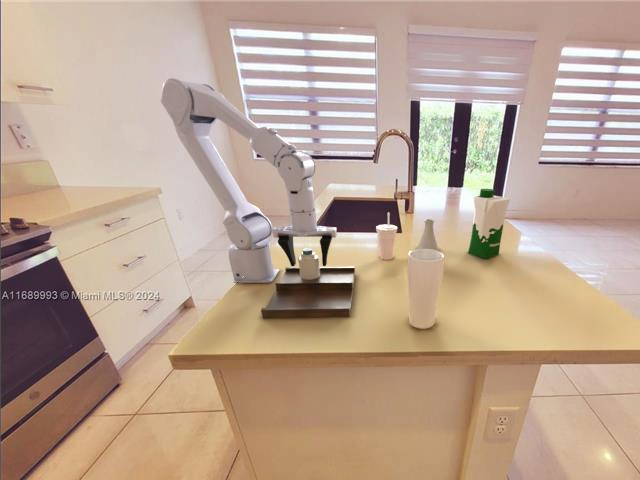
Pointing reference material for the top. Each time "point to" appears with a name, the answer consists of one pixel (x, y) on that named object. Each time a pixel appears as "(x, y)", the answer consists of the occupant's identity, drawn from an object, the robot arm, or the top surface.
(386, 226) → the smoothie
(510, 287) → the top surface
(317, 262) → the bottle
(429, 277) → the drinking glass
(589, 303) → the top surface
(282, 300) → the rack
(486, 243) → the milk carton
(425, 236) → the flask
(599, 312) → the top surface
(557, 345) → the top surface
